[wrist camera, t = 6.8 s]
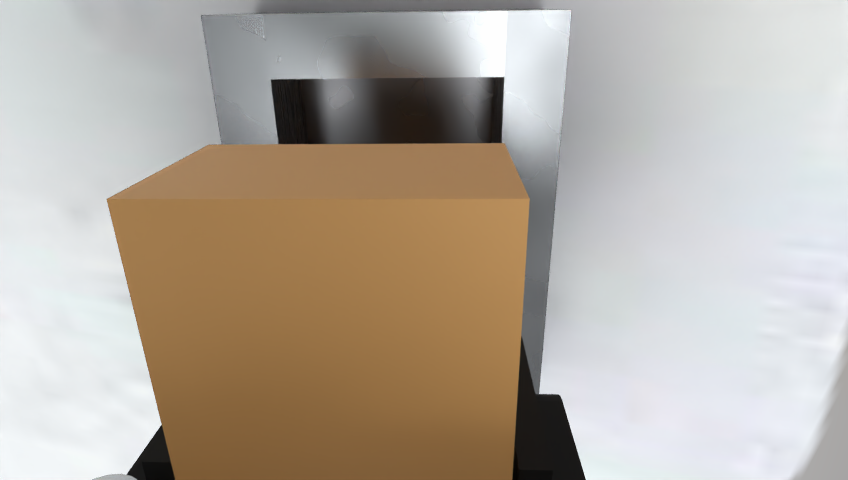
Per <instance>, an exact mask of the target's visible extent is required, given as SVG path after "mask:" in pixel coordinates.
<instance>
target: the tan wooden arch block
mask: <svg viewBox="0 0 848 480" xmlns="http://www.w3.org/2000/svg"><path fill="white" fill-rule="evenodd" d="M107 202H108V207H109V211H110V215H111V219H112V223H113V227H114V231H115V235H116V239H117V243H118V247H119V252H120V256H121V260H122V264H123V268H124V272H125V276H126V280H127V284H128V288H129V292H130V297H131V301H132V305H133V309H134V313H135V317H136V321H137V325H138V329H139V333H140V337H141V341H142V346H143V350H144V354H145V358H146V362H147V366H148V370H149V374H150V378H151V382H152V386H153V391H154V395H155V399H156V403H157V407H158V411H159V415H160V419H161V423H162V427H163V431H164V436H165V440H166V444H167V448H168V452H169V456H170V460H171V464H172V468H173V472H174V476H175V480H512V475H513V459H514V443H515V427H516V411H517V395H518V379H519V363H520V347H521V331H522V315H523V299H524V282H525V266H526V250H527V234H528V218H529V202H530V198H529V196H528V194H527V192H526V189H525V187H524V185H523V183H522V181H521V178H520V176H519V174H518V172H517V170H516V167H515V165H514V163H513V161H512V159H511V156H510V154H509V152H508V150H507V148H506V145H505V143H446V144H251V145H207V146H205V147H204V148H202V149H200V150H198V151H196V152H194V153H192V154H190V155H189V156H187V157H185V158H183V159H181V160H179V161H177V162H175V163H174V164H172V165H170V166H168V167H166V168H164V169H162V170H160V171H159V172H157V173H155V174H153V175H151V176H149V177H147V178H145V179H144V180H142V181H140V182H138V183H136V184H134V185H132V186H130V187H129V188H127V189H125V190H123V191H121V192H119V193H117V194H115V195H114V196H112V197H110V198H108V199H107Z"/></svg>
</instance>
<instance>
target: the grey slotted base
mask: <svg viewBox="0 0 848 480" xmlns="http://www.w3.org/2000/svg"><path fill="white" fill-rule="evenodd" d="M571 12H572V10H557V9H518V10H451V11H383V12H316V13H252V14H225V15H201V19H202V25H203V31H204V37H205V43H206V50H207V56H208V62H209V68H210V74H211V81H212V87H213V93H214V99H215V105H216V111H217V118H218V124H219V130H220V136H221V142H222V145H251V144H446V143H505V145H506V148H507V150H508V152H509V154H510V156H511V159H512V161H513V163H514V165H515V167H516V170H517V172H518V174H519V176H520V178H521V181H522V183H523V185H524V187H525V189H526V192H527V194H528V196H529V198H530V202H529V218H528V234H527V250H526V266H525V282H524V299H523V315H522V331H521V336H522V339H523V343H524V347H525V351H526V356H527V360H528V364H529V369H530V373H531V377H532V382H533V386H534V390H535V394H539V387H540V375H541V363H542V352H543V340H544V328H545V316H546V305H547V293H548V281H549V270H550V258H551V246H552V234H553V223H554V211H555V199H556V187H557V176H558V164H559V152H560V141H561V129H562V117H563V105H564V94H565V82H566V70H567V58H568V47H569V35H570V23H571Z"/></svg>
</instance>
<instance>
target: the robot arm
mask: <svg viewBox="0 0 848 480" xmlns="http://www.w3.org/2000/svg"><path fill="white" fill-rule="evenodd" d="M93 480H175V476H174V472H173V468H172V464H171V460H170V456H169V452H168V448H167V444H166V440H165V436H164V431H163V427H162V425H161V426H160V428H159V429H158V431H157V432H156V434H155V435H154V436H153V438H152V439H151V441H150V442H149V444H148V445H147V446H146V448H145V449H144V451H143V452H142V454H141V455H140V456H139V458H138V459H137V461H136V462H135V463H134V465H133V466H132V468H131V469H130V471H129V472H128V473H127V475H124V474H112V475H106V476H102V477H99V478H95V479H93ZM512 480H586V479H585V476H584V472H583V469H582V466H581V462H580V459H579V456H578V452H577V449H576V446H575V442H574V439H573V436H572V432H571V429H570V425H569V422H568V419H567V415H566V412H565V409H564V405H563V402H562V399H561V397H560V396H559V395H555V394H535V390H534V386H533V382H532V377H531V373H530V369H529V364H528V360H527V356H526V351H525V347H524V343H523V339H522V336H521V347H520V363H519V379H518V395H517V411H516V427H515V443H514V459H513V475H512Z"/></svg>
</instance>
